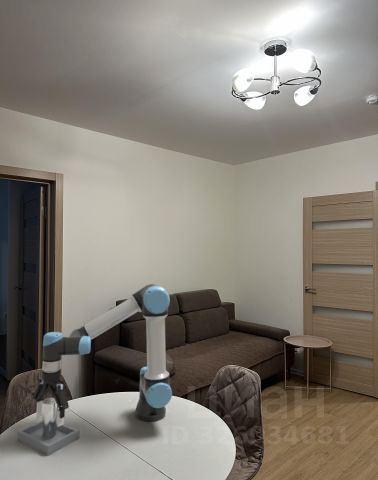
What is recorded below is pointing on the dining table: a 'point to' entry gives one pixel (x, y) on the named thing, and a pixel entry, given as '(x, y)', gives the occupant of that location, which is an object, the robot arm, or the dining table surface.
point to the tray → (33, 439)
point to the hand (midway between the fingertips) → (49, 421)
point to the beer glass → (49, 419)
